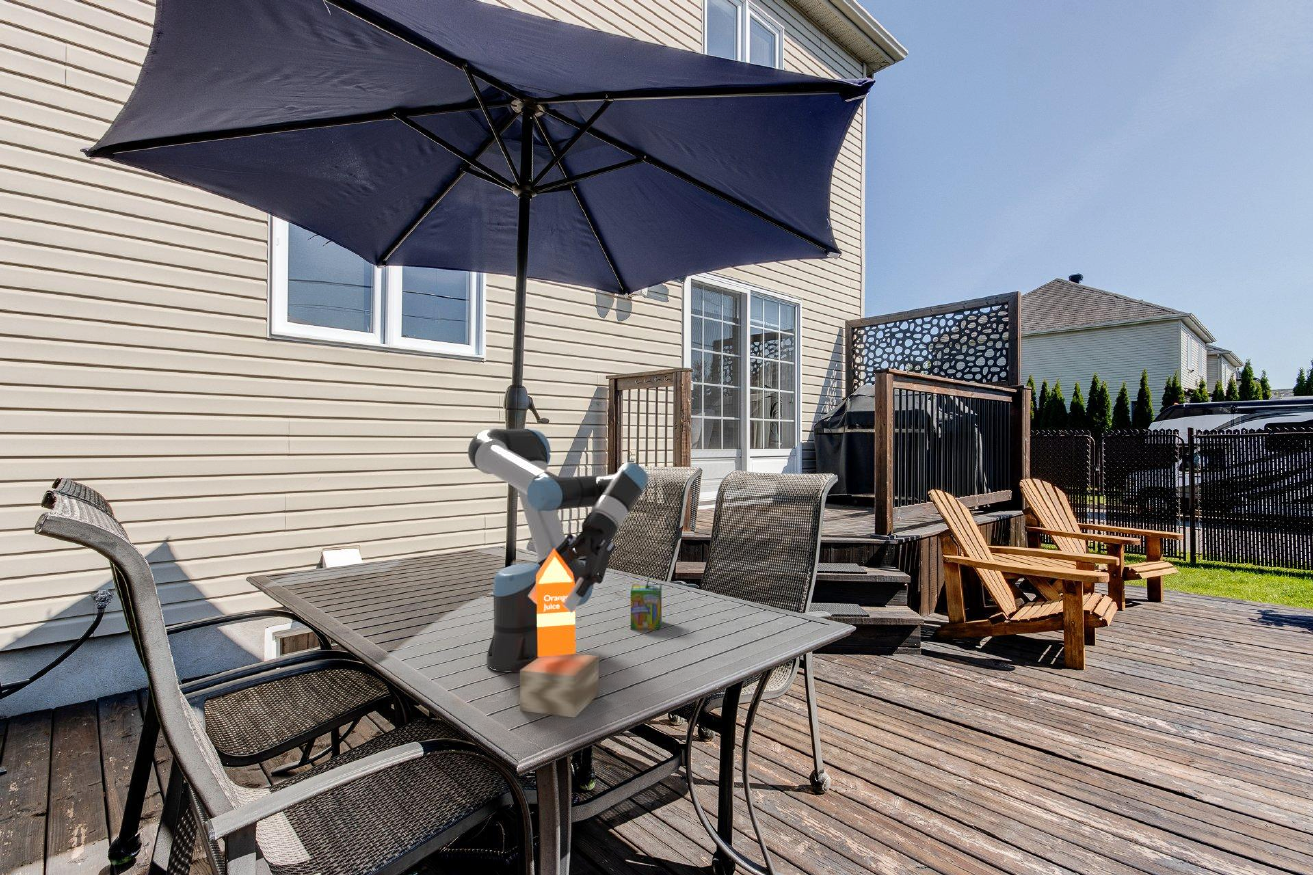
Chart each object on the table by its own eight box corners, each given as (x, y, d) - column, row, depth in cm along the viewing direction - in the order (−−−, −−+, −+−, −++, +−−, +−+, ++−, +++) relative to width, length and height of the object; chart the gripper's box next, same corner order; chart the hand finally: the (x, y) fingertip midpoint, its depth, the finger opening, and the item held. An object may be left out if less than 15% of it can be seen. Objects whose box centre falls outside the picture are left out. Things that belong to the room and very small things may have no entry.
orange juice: (573, 638, 129) (572, 546, 129) (576, 653, 120) (574, 555, 120) (537, 641, 128) (535, 548, 127) (536, 656, 119) (535, 557, 119)
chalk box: (632, 621, 183) (631, 572, 183) (662, 621, 183) (661, 572, 183) (629, 630, 174) (629, 578, 174) (661, 630, 173) (660, 578, 174)
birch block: (520, 710, 120) (519, 670, 120) (548, 687, 131) (547, 651, 131) (574, 717, 116) (574, 675, 116) (598, 693, 128) (598, 655, 128)
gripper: (650, 535, 128) (597, 624, 116) (579, 527, 144) (526, 605, 132) (632, 512, 124) (576, 602, 112) (561, 507, 140) (505, 585, 128)
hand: (549, 604), depth 122 cm, fingers closed on orange juice, 11 cm apart
